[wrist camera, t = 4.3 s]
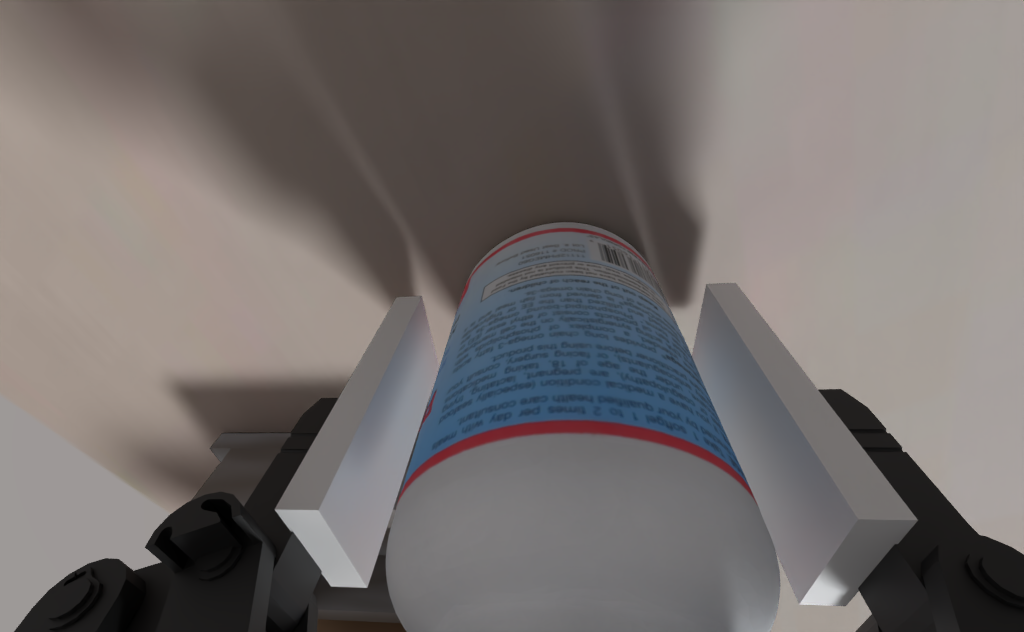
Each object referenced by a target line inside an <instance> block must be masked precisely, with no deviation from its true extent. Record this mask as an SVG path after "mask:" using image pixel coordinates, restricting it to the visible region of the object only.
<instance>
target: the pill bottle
mask: <svg viewBox="0 0 1024 632" xmlns="http://www.w3.org/2000/svg"><path fill="white" fill-rule="evenodd" d="M386 578H387V585H388V591H389V595H390V598H391V601H392V604H393V607H394V609H395V612H396V614H397V616H398V618H399V620H400V622H401V624H402V625H403V627H404V629H405V630H406V632H770V631H771V628H772V626H773V623H774V620H775V617H776V613H777V609H778V604H779V597H780V572H779V565H778V561H777V556H776V551H775V547H774V544H773V541H772V539H771V536H770V534H769V531H768V529H767V527H766V524H765V522H764V519H763V517H762V515H761V512H760V509H759V507H758V504H757V502H756V500H755V498H754V495H753V493H752V491H751V489H750V486H749V484H748V482H747V480H746V477H745V475H744V473H743V471H742V468H741V466H740V464H739V462H738V460H737V457H736V455H735V453H734V451H733V449H732V446H731V444H730V442H729V440H728V437H727V435H726V433H725V431H724V428H723V426H722V424H721V421H720V419H719V417H718V415H717V412H716V410H715V408H714V406H713V404H712V401H711V399H710V397H709V395H708V392H707V390H706V388H705V386H704V383H703V381H702V379H701V376H700V374H699V372H698V369H697V367H696V365H695V362H694V360H693V358H692V356H691V354H690V351H689V349H688V346H687V344H686V342H685V340H684V338H683V336H682V334H681V332H680V330H679V328H678V325H677V323H676V321H675V318H674V316H673V314H672V312H671V310H670V308H669V305H668V303H667V301H666V299H665V297H664V295H663V293H662V290H661V288H660V286H659V284H658V282H657V280H656V278H655V276H654V273H653V271H652V270H651V268H650V266H649V265H648V263H647V262H646V260H645V259H644V258H643V257H642V256H641V254H640V253H639V252H638V251H637V250H636V249H635V248H634V247H633V246H631V245H630V244H629V243H628V242H626V241H625V240H623V239H622V238H620V237H618V236H617V235H615V234H613V233H611V232H609V231H607V230H604V229H602V228H598V227H595V226H592V225H588V224H582V223H574V222H559V223H550V224H544V225H540V226H536V227H532V228H530V229H527V230H524V231H522V232H519V233H517V234H515V235H513V236H512V237H510V238H508V239H506V240H505V241H503V242H501V243H500V244H498V245H497V246H496V247H494V248H493V249H492V250H490V251H489V252H488V253H487V254H486V255H485V256H484V257H483V258H482V259H481V260H480V262H479V263H478V264H477V265H476V266H475V268H474V269H473V271H472V273H471V274H470V276H469V278H468V280H467V283H466V285H465V288H464V291H463V293H462V297H461V300H460V303H459V306H458V309H457V312H456V315H455V319H454V322H453V326H452V329H451V333H450V336H449V339H448V342H447V345H446V348H445V352H444V355H443V358H442V362H441V365H440V368H439V372H438V375H437V378H436V381H435V384H434V388H433V391H432V394H431V397H430V400H429V404H428V407H427V410H426V413H425V415H424V418H423V422H422V425H421V428H420V430H419V436H418V439H417V442H416V446H415V449H414V452H413V456H412V459H411V462H410V465H409V468H408V472H407V475H406V478H405V481H404V485H403V488H402V491H401V494H400V497H399V500H398V503H397V507H396V511H395V515H394V519H393V522H392V525H391V529H390V533H389V537H388V543H387V550H386Z"/></svg>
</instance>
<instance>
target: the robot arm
mask: <svg viewBox="0 0 1024 632" xmlns="http://www.w3.org/2000/svg"><path fill="white" fill-rule="evenodd" d="M692 358H693V360H694V362H695V365H696V367H697V369H698V372H699V374H700V376H701V379H702V381H703V383H704V386H705V388H706V390H707V392H708V395H709V397H710V399H711V401H712V404H713V406H714V408H715V410H716V412H717V415H718V417H719V419H720V421H721V424H722V426H723V428H724V431H725V433H726V435H727V437H728V440H729V442H730V444H731V446H732V449H733V451H734V453H735V455H736V457H737V460H738V462H739V464H740V466H741V468H742V471H743V473H744V475H745V477H746V480H747V482H748V484H749V486H750V489H751V491H752V493H753V495H754V498H755V500H756V502H757V504H758V507H759V509H760V512H761V515H762V517H763V519H764V522H765V524H766V527H767V529H768V531H769V534H770V536H771V539H772V541H773V544H774V547H775V551H776V553H777V555H778V558H779V560H780V562H781V564H782V567H783V569H784V571H785V573H786V576H787V578H788V580H789V582H790V585H791V587H792V589H793V591H794V594H795V596H796V598H797V600H798V603H799V604H804V605H830V606H846V605H847V604H848V603H849V602H850V601H851V599H852V598H853V597H854V596H855V595H856V593H857V592H858V591H860V593H861V595H862V597H863V598H864V600H865V602H866V604H867V605H868V607H869V609H870V611H871V613H872V615H871V616H870V617H869V618H868V619H867V620H866V621H865V622H864V623H863V624H862V625H861V626H860V627H859V628H858V629H857V631H856V632H1024V555H1023V554H1022V553H1020V552H1019V551H1017V550H1015V549H1014V548H1012V547H1010V546H1008V545H1005V544H1003V543H1000V542H998V541H996V540H993V539H991V538H988V537H986V536H981V535H979V534H978V533H977V532H976V531H975V530H974V529H973V528H972V527H971V526H970V525H969V524H968V523H967V522H966V521H965V519H964V518H963V517H962V516H961V515H960V514H959V513H958V511H957V510H956V509H955V508H954V507H953V506H952V504H951V503H950V502H949V501H948V500H947V499H946V497H945V496H944V495H943V494H942V493H941V492H940V491H939V489H938V488H937V487H936V486H935V485H934V484H933V482H932V481H931V480H930V479H929V478H928V477H927V476H926V474H925V473H924V472H923V471H922V470H921V469H920V467H919V466H918V465H917V464H916V463H915V462H914V460H913V459H912V458H911V457H910V456H909V455H908V454H907V452H903V451H902V447H901V445H900V444H899V443H898V442H897V441H896V440H895V439H894V437H893V436H892V435H891V434H890V433H887V432H886V428H885V427H884V426H883V425H882V423H881V422H880V421H879V420H878V419H877V418H876V417H875V415H874V414H873V413H872V412H871V411H870V410H869V408H868V407H866V406H865V405H863V404H862V403H860V402H859V401H858V400H856V399H855V398H853V397H852V396H850V395H849V394H847V393H846V392H844V391H843V390H842V389H827V390H818V389H817V388H816V387H815V385H814V384H813V383H812V381H811V380H810V379H809V378H808V376H807V375H806V374H805V372H804V371H803V370H802V368H801V367H800V366H799V364H798V363H797V362H796V361H795V359H794V358H793V357H792V355H791V354H790V353H789V351H788V350H787V349H786V348H785V346H784V345H783V344H782V342H781V341H780V340H779V338H778V337H777V336H776V335H775V333H774V332H773V331H772V329H771V328H770V327H769V325H768V324H767V323H766V321H765V320H764V319H763V318H762V316H761V315H760V314H759V312H758V311H757V310H756V308H755V307H754V306H753V305H752V303H751V302H750V301H749V299H748V298H747V297H746V295H745V294H744V293H743V292H742V290H741V289H740V288H739V286H738V285H737V284H736V283H719V284H706V289H705V294H704V299H703V304H702V309H701V314H700V319H699V324H698V329H697V334H696V339H695V344H694V349H693V354H692ZM438 369H439V363H438V359H437V355H436V351H435V347H434V343H433V340H432V336H431V332H430V328H429V324H428V320H427V316H426V312H425V308H424V304H423V300H422V296H411V297H396V299H395V301H394V303H393V304H392V306H391V308H390V310H389V311H388V313H387V315H386V317H385V318H384V320H383V322H382V324H381V325H380V327H379V329H378V330H377V332H376V334H375V336H374V337H373V339H372V341H371V343H370V344H369V346H368V348H367V350H366V351H365V353H364V355H363V357H362V358H361V360H360V362H359V364H358V365H357V367H356V369H355V370H354V372H353V374H352V376H351V377H350V379H349V381H348V383H347V384H346V386H345V388H344V390H343V391H342V393H341V395H340V397H339V398H321V399H320V400H319V401H318V402H317V403H315V404H314V405H313V406H312V407H311V408H310V409H309V410H307V411H306V412H305V413H304V414H303V415H302V417H301V418H300V420H299V421H298V423H297V424H296V426H295V428H294V429H293V431H292V432H291V437H288V438H287V440H286V441H285V443H284V445H283V446H282V448H281V452H280V453H278V454H277V455H276V457H275V459H274V460H273V462H272V463H271V465H270V466H269V468H268V469H267V471H266V472H265V474H264V476H263V477H262V479H261V480H260V482H259V483H258V485H257V486H256V488H255V490H254V491H253V493H252V494H251V496H250V497H249V499H248V500H247V502H246V503H245V505H244V507H243V505H242V504H241V503H240V502H239V500H238V499H237V498H236V497H235V496H234V495H233V494H230V493H225V492H216V493H210V494H205V495H203V496H201V497H198V498H196V499H194V500H192V501H189V502H187V503H186V504H184V505H183V506H182V507H180V508H179V509H177V510H176V511H175V512H173V513H172V514H170V515H169V516H168V517H167V518H166V519H165V520H164V522H163V523H162V524H161V525H160V526H159V527H158V528H157V529H156V530H155V531H154V533H153V534H152V536H151V538H150V540H149V541H148V543H147V545H146V547H145V548H146V549H148V550H149V551H150V552H151V553H152V554H153V555H155V556H156V557H157V558H158V559H159V560H160V561H161V563H158V564H155V565H151V566H148V567H145V568H141V569H138V570H135V571H133V570H132V569H130V568H129V567H128V566H127V565H126V564H124V563H123V562H122V561H120V560H119V559H108V558H106V559H102V560H99V561H96V562H92V563H89V564H87V565H85V566H83V567H82V568H80V569H78V570H76V571H74V572H72V573H71V574H69V575H68V576H66V577H65V578H64V579H63V580H61V581H60V582H59V583H57V584H56V585H55V586H54V587H52V588H51V589H50V590H49V591H48V592H47V593H46V594H45V595H44V596H43V597H42V598H41V599H40V600H39V601H38V603H37V604H36V605H35V606H34V607H33V608H32V609H31V611H30V612H29V613H28V614H27V616H26V617H25V619H24V620H23V621H22V622H21V624H20V625H19V626H18V628H17V629H16V630H15V631H14V632H317V620H318V606H317V599H316V596H315V595H314V594H313V591H314V589H315V587H316V584H317V582H318V580H319V577H320V575H321V573H322V575H323V576H324V577H325V579H326V580H327V582H328V583H329V584H330V586H332V587H358V588H367V587H368V584H369V581H370V578H371V575H372V572H373V569H374V566H375V563H376V560H377V557H378V554H379V551H380V547H381V544H382V541H383V538H384V535H385V532H386V529H387V526H388V523H389V520H390V517H391V514H392V511H393V508H394V504H395V501H396V498H397V495H398V492H399V489H400V486H401V483H402V480H403V477H404V474H405V471H406V468H407V464H408V461H409V458H410V455H411V452H412V449H413V446H414V443H415V440H416V437H417V434H418V431H419V428H420V424H421V421H422V418H423V415H424V412H425V409H426V406H427V403H428V400H429V397H430V394H431V391H432V388H433V384H434V381H435V378H436V375H437V372H438Z"/></svg>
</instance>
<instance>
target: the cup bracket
mask: <svg viewBox="0 0 1024 632" xmlns="http://www.w3.org/2000/svg"><path fill="white" fill-rule="evenodd" d="M418 436H419V433H418V434H417V437H416V440H415V443H414V446H413V449H412V452H411V455H410V458H409V461H408V464H407V468H406V471H405V474H404V477H403V480H402V483H401V486H400V489H399V492H398V495H397V498H396V501H395V504H394V508H393V511H392V514H391V517H390V520H389V523H388V526H387V529H386V532H385V535H384V538H383V541H382V544H381V547H380V551H379V554H378V557H377V560H376V563H375V566H374V569H373V572H372V575H371V578H370V581H369V584H368V587H367V588H358V587H332V586H330V584H329V583H328V582H327V580H326V579H325V577H324V576H323V575H322V573H321V575H320V577H319V580H318V582H317V584H316V587H315V589H314V591H313V594H314V595H315V596H316V599H317V606H318V620H317V632H406V630H405V629H404V627H403V625H402V624H401V622H400V620H399V618H398V616H397V614H396V612H395V609H394V607H393V604H392V601H391V598H390V595H389V591H388V585H387V578H386V550H387V543H388V537H389V533H390V529H391V525H392V522H393V519H394V515H395V511H396V507H397V503H398V500H399V497H400V494H401V491H402V488H403V485H404V481H405V478H406V475H407V472H408V468H409V465H410V462H411V459H412V456H413V452H414V449H415V446H416V442H417V439H418ZM288 437H291V433H222V434H221V435H220V437H219V438H218V439H217V440H216V441H215V443H214V444H213V445H212V446H211V448H210V449H211V451H212V452H213V453H214V455H215V456H216V457H217V458H218V460H219V461H220V462H221V463H220V464H219V465H218V466H217V468H216V469H215V470H214V472H213V473H212V474H211V476H210V477H209V478H208V480H207V481H206V482H205V483H204V485H203V486H202V487H201V489H200V490H199V491H198V493H197V494H196V495H195V497H194V498H193V499H192V500H194V499H196V498H198V497H201V496H203V495H205V494H210V493H216V492H225V493H230V494H233V495H234V496H235V497H236V498H237V499H238V500H239V502H240V503H241V504H242V505H243V507H244V505H245V503H246V502H247V500H248V499H249V497H250V496H251V494H252V493H253V491H254V490H255V488H256V486H257V485H258V483H259V482H260V480H261V479H262V477H263V476H264V474H265V472H266V471H267V469H268V468H269V466H270V465H271V463H272V462H273V460H274V459H275V457H276V455H277V454H278V453H280V452H281V448H282V446H283V445H284V443H285V441H286V440H287V438H288ZM192 500H191V501H192Z"/></svg>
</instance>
